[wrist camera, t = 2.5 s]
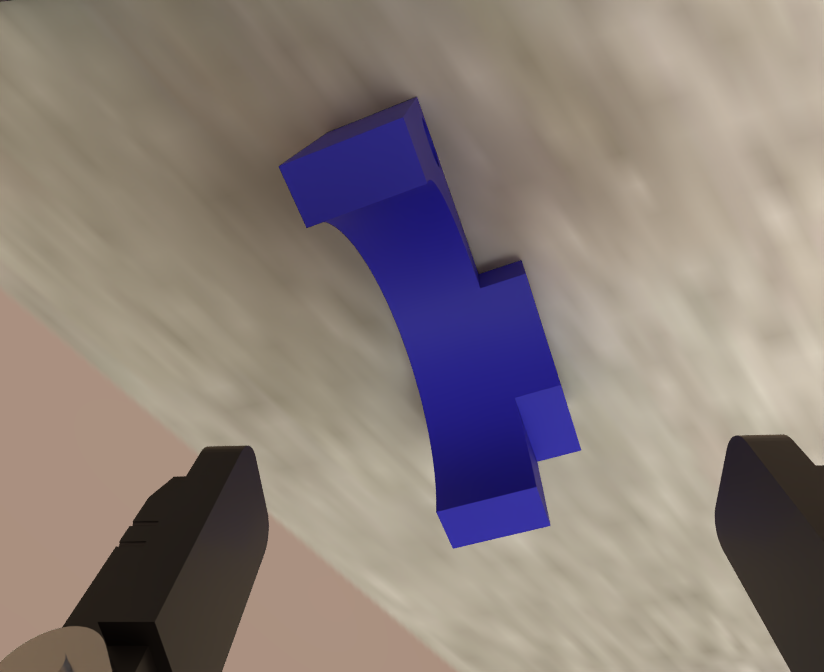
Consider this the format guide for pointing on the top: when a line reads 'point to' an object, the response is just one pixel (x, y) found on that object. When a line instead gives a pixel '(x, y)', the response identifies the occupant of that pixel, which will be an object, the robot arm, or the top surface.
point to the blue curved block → (446, 320)
